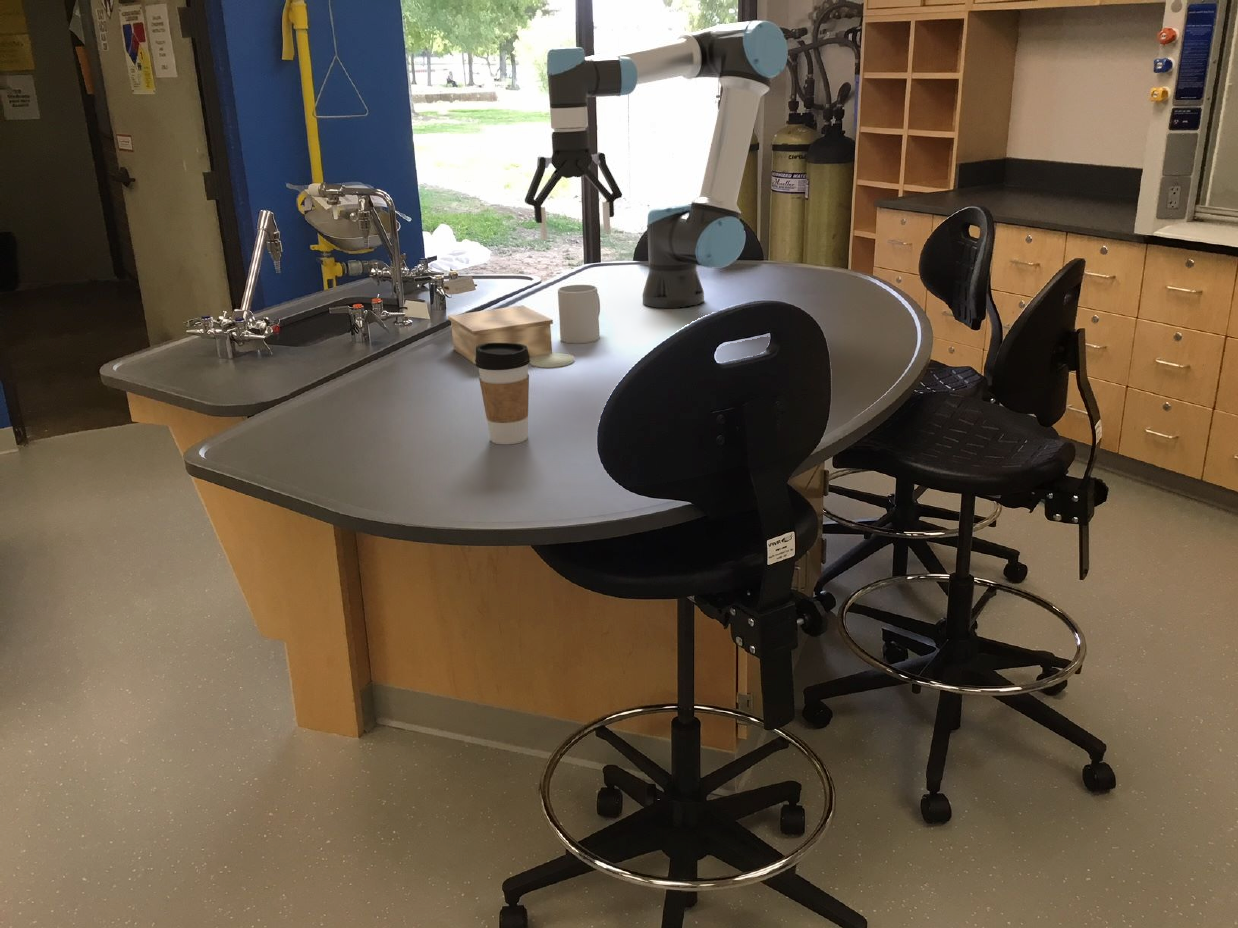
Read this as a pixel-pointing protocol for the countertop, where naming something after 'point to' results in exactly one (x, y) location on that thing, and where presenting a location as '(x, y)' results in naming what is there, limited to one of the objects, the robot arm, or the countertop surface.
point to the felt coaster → (552, 360)
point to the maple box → (501, 330)
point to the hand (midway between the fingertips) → (575, 236)
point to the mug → (579, 313)
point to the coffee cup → (505, 390)
